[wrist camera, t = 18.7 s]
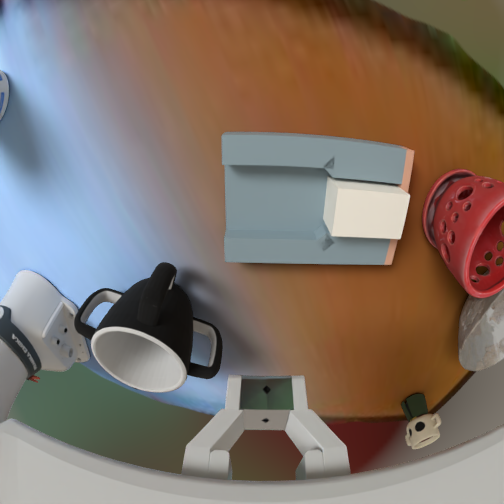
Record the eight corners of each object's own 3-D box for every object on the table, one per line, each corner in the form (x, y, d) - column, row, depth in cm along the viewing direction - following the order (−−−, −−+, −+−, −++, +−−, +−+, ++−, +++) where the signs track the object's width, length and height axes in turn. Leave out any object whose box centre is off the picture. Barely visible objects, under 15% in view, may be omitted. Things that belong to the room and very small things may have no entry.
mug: (144, 345, 45) (123, 401, 34) (93, 269, 38) (53, 322, 27) (232, 330, 42) (225, 397, 32) (189, 239, 35) (161, 301, 24)
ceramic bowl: (423, 287, 38) (452, 331, 29) (519, 207, 30) (557, 235, 22) (447, 351, 46) (466, 387, 37) (525, 289, 38) (549, 317, 30)
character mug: (417, 384, 51) (434, 431, 40) (435, 386, 52) (452, 428, 41) (388, 410, 56) (399, 453, 45) (406, 410, 57) (418, 451, 46)
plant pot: (407, 253, 35) (449, 309, 25) (419, 158, 29) (480, 190, 18) (474, 247, 34) (518, 292, 24) (489, 165, 28) (547, 195, 17)
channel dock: (382, 252, 35) (391, 264, 32) (227, 248, 35) (225, 262, 32) (401, 145, 28) (414, 150, 25) (225, 131, 28) (221, 135, 26)
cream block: (385, 222, 32) (400, 239, 28) (322, 218, 32) (331, 236, 28) (392, 182, 29) (410, 195, 25) (327, 176, 30) (338, 188, 26)
